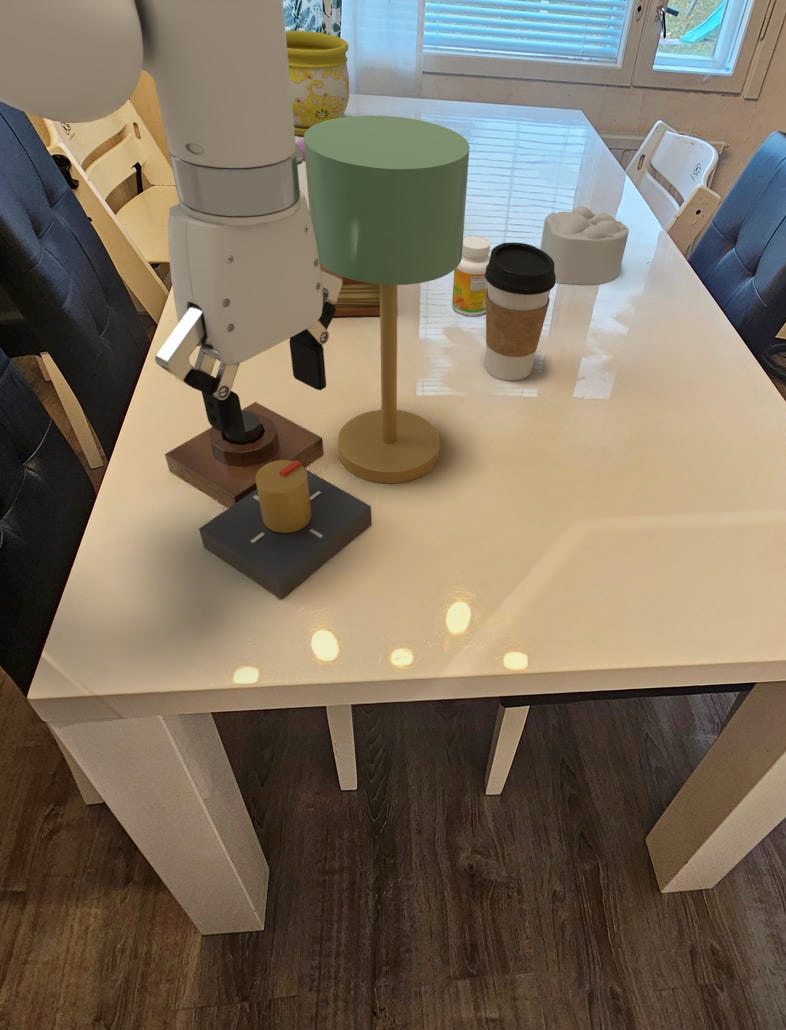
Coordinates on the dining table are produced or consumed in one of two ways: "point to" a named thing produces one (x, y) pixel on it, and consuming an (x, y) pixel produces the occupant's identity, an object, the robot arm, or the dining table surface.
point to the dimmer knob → (284, 496)
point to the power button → (248, 429)
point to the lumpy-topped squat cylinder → (584, 246)
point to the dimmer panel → (286, 537)
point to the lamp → (387, 253)
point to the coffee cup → (516, 307)
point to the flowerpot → (316, 78)
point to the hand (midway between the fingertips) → (271, 405)
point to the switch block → (241, 456)
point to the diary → (356, 297)
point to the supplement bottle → (471, 277)
